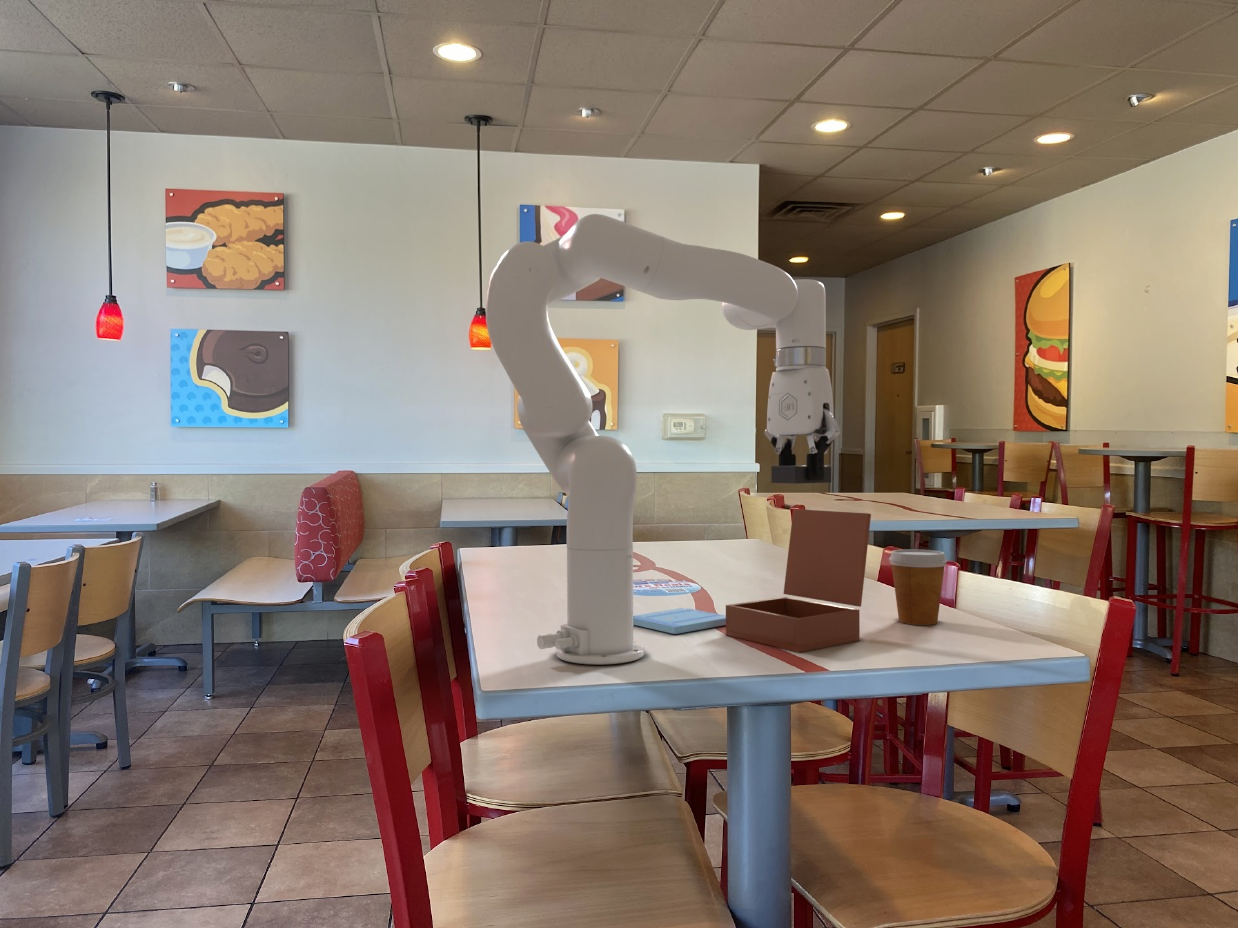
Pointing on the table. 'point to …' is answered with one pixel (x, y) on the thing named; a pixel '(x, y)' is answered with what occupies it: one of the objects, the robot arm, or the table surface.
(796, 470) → the dark grey block
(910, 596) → the disposable coffee cup
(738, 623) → the flip case
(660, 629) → the light blue flat block
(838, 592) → the cover
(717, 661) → the table surface
